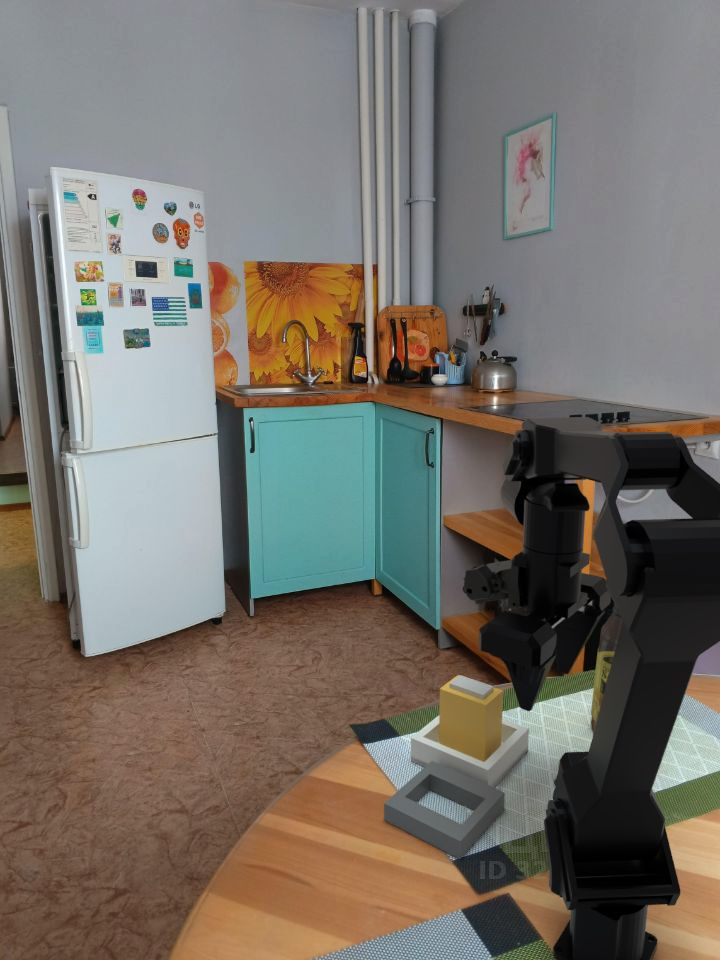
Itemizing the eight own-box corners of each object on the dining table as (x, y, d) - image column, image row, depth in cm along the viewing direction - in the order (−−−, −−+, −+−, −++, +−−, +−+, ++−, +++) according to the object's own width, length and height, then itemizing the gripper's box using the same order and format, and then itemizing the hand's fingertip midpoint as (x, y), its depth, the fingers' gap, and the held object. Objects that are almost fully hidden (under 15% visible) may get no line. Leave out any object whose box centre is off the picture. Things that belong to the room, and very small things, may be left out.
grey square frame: (460, 859, 68) (460, 841, 68) (384, 820, 74) (384, 803, 73) (503, 809, 75) (504, 792, 75) (431, 776, 81) (431, 760, 80)
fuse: (484, 769, 81) (486, 700, 79) (439, 750, 84) (439, 683, 82) (500, 752, 84) (503, 685, 82) (456, 734, 87) (457, 670, 85)
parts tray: (487, 794, 77) (488, 770, 77) (410, 760, 83) (411, 737, 83) (528, 750, 85) (529, 728, 84) (455, 722, 91) (455, 701, 90)
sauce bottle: (591, 742, 87) (601, 587, 82) (588, 714, 92) (597, 569, 88) (649, 749, 85) (662, 592, 81) (642, 720, 91) (654, 573, 86)
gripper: (519, 511, 82) (515, 637, 85) (431, 554, 68) (429, 703, 71) (617, 528, 75) (607, 664, 79) (541, 579, 61) (534, 743, 64)
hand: (545, 690), depth 73 cm, fingers open, 9 cm apart
